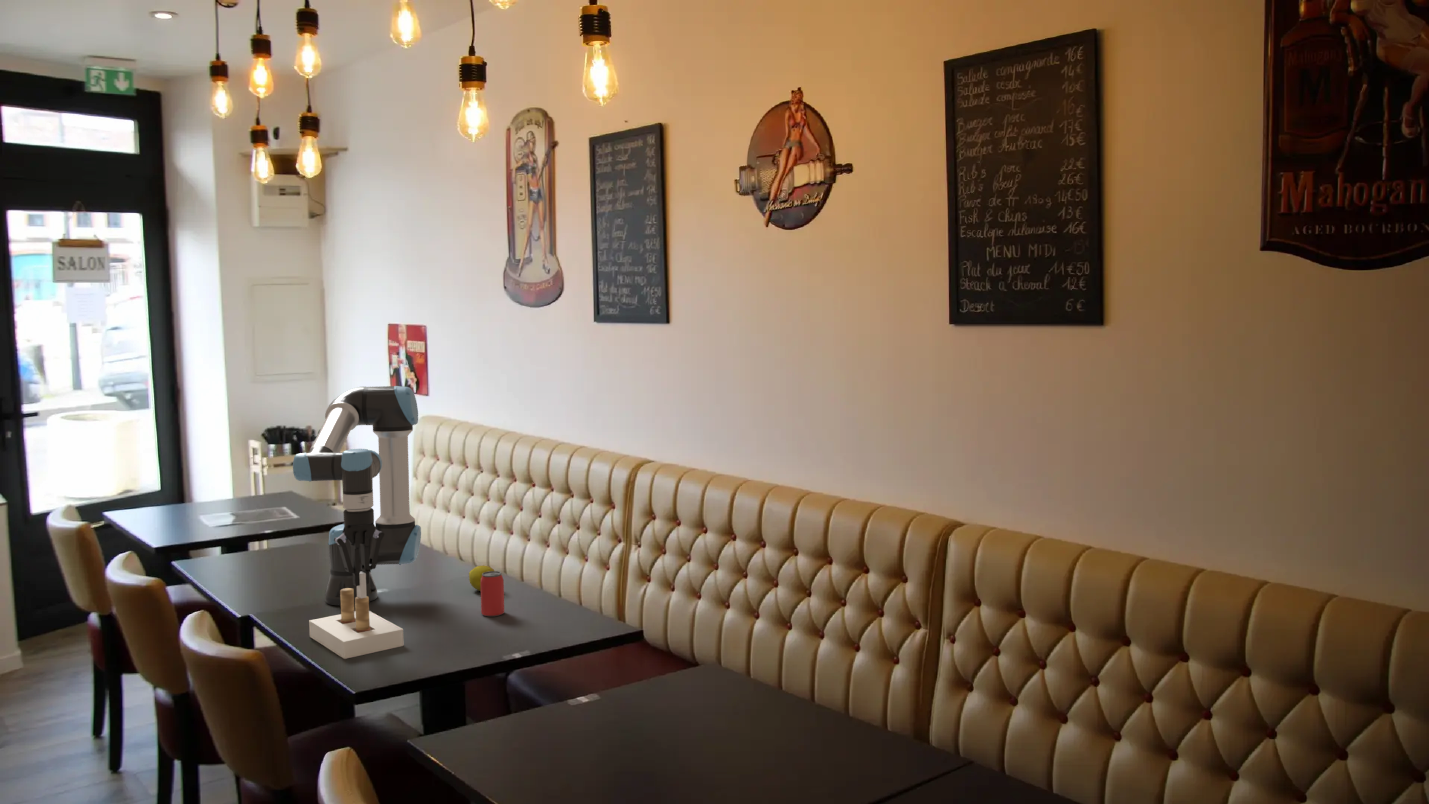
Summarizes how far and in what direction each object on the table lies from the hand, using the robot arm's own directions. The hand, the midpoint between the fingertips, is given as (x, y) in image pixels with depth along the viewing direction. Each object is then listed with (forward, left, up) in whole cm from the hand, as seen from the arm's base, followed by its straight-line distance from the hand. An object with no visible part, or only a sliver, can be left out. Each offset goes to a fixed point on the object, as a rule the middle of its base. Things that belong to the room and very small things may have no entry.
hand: (361, 596), depth 288 cm
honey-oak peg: (0, 0, -13) cm, 13 cm away
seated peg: (0, -10, -13) cm, 17 cm away
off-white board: (0, -5, -13) cm, 14 cm away
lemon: (-50, -27, -14) cm, 58 cm away
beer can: (-40, -3, -13) cm, 42 cm away
